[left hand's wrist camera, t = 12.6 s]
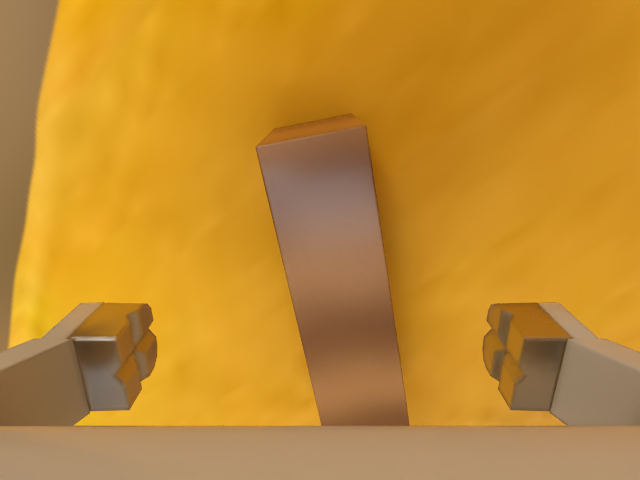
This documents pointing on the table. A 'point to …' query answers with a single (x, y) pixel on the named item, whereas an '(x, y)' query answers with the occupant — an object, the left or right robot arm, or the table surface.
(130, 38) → the table surface
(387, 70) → the table surface
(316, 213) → the bar
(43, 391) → the left robot arm
